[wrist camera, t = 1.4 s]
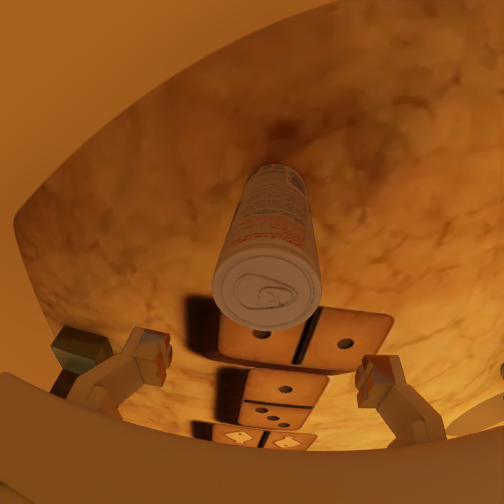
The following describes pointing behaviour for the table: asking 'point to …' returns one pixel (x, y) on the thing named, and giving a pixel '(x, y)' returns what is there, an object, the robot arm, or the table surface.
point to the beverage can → (269, 254)
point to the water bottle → (502, 373)
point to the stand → (77, 356)
